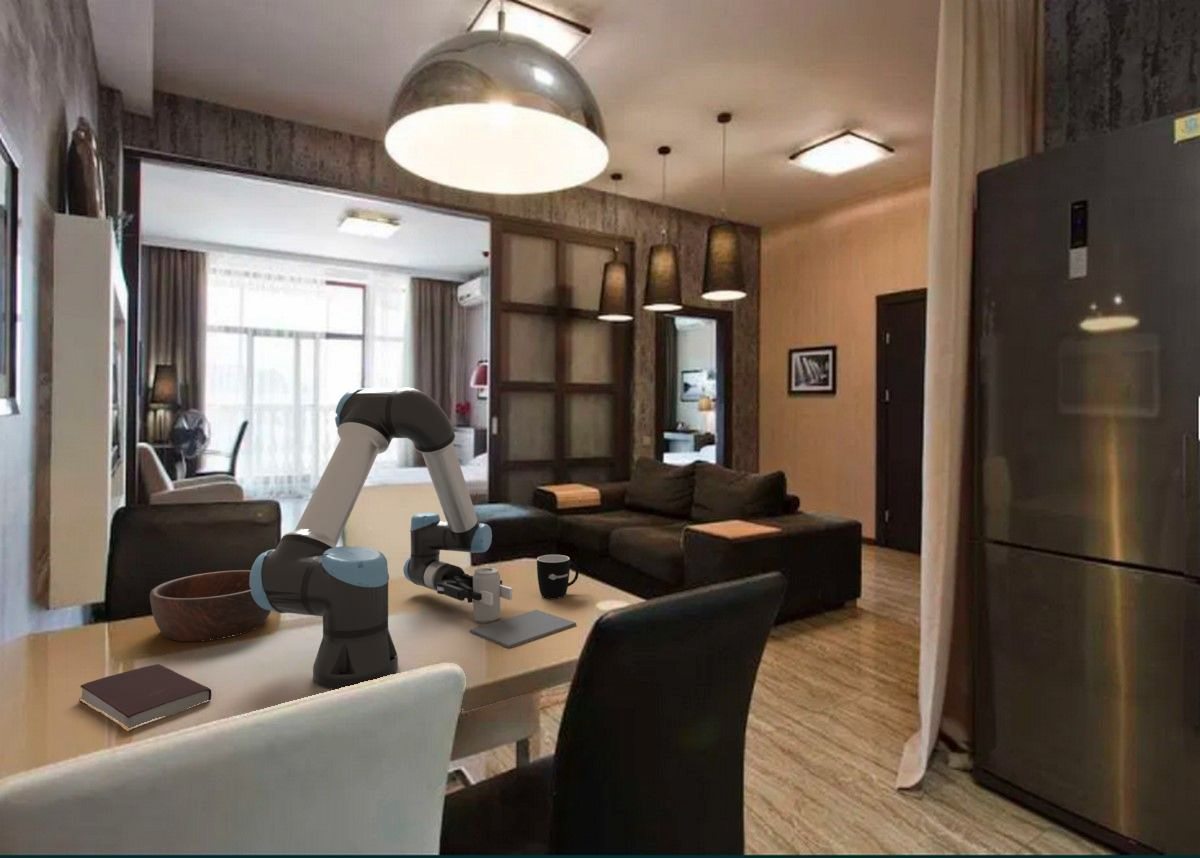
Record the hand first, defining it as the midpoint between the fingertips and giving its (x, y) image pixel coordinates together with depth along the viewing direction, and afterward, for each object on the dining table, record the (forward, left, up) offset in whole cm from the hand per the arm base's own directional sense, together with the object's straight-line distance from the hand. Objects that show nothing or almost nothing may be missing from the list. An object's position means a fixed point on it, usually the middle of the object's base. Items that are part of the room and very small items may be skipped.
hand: (501, 596), depth 149 cm
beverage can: (0, +5, -7) cm, 9 cm away
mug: (+26, +8, -7) cm, 28 cm away
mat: (+2, -6, -7) cm, 9 cm away
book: (-67, +13, -7) cm, 68 cm away
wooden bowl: (-46, +46, -7) cm, 66 cm away
